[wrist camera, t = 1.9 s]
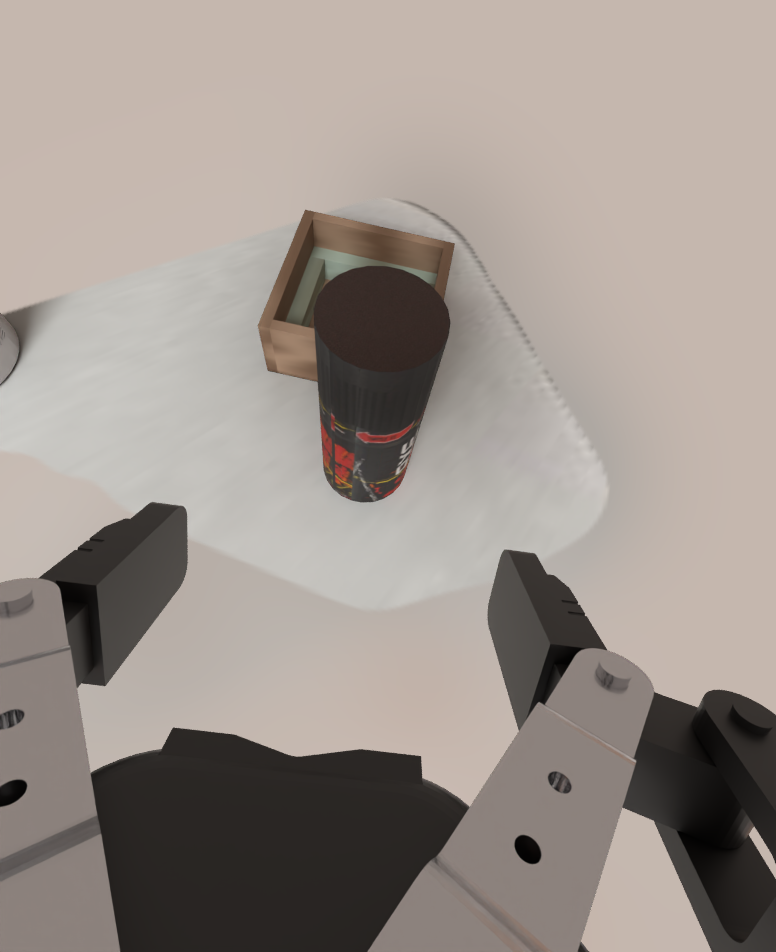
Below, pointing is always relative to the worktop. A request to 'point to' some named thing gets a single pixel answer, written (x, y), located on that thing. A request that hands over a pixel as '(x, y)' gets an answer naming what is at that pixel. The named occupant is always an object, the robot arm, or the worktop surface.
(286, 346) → the holder box
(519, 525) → the worktop surface
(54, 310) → the worktop surface
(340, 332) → the deodorant
